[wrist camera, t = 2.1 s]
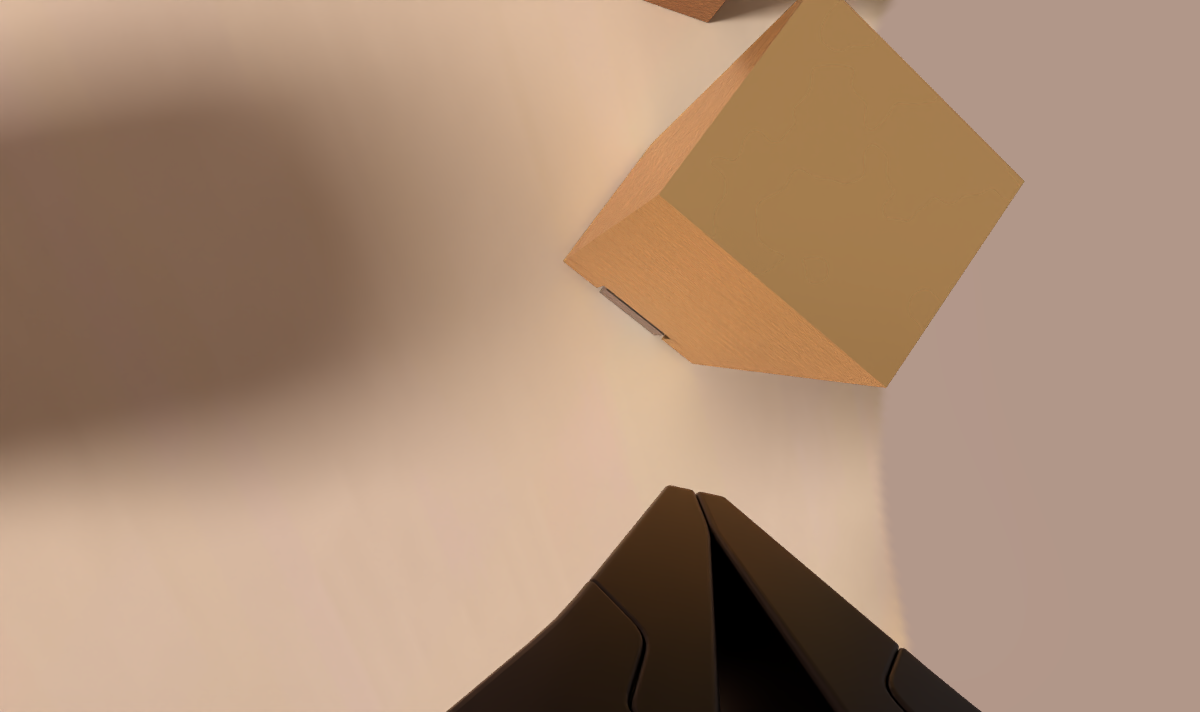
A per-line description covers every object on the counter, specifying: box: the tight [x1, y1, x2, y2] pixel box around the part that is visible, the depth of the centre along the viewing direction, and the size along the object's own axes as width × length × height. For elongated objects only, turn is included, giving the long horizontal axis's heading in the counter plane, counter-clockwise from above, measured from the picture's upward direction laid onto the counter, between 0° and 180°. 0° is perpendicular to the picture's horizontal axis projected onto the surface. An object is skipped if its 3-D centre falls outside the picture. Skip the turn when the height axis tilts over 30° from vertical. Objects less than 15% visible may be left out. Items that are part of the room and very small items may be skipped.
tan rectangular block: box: [564, 0, 1024, 388], centre depth 16 cm, size 5×6×10 cm
